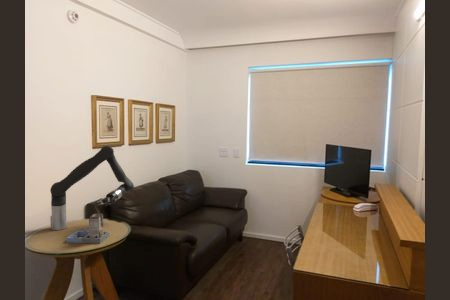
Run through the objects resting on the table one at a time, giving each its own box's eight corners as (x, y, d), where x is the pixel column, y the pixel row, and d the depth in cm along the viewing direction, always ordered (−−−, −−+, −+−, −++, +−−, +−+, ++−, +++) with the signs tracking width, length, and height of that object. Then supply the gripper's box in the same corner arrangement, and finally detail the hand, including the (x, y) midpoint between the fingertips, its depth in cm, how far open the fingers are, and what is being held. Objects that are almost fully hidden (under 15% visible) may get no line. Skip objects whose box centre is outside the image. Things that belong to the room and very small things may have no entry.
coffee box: (94, 237, 202) (93, 213, 201) (104, 236, 203) (103, 213, 202) (89, 242, 193) (88, 217, 192) (99, 242, 194) (98, 217, 193)
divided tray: (66, 242, 193) (66, 235, 192) (77, 235, 206) (77, 229, 205) (100, 243, 191) (100, 237, 191) (109, 236, 204) (109, 230, 204)
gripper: (104, 191, 222) (89, 201, 207) (120, 190, 218) (106, 200, 203) (107, 201, 224) (92, 211, 209) (123, 200, 220) (109, 210, 205)
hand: (99, 205), depth 206 cm, fingers open, 8 cm apart
